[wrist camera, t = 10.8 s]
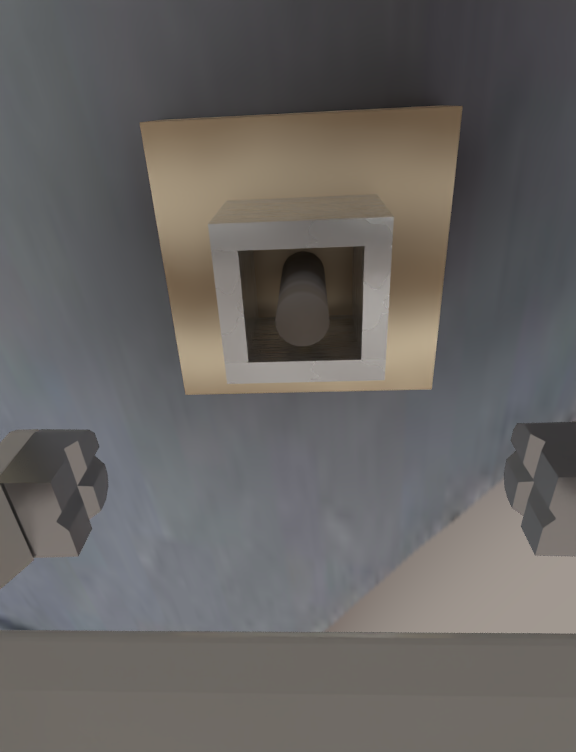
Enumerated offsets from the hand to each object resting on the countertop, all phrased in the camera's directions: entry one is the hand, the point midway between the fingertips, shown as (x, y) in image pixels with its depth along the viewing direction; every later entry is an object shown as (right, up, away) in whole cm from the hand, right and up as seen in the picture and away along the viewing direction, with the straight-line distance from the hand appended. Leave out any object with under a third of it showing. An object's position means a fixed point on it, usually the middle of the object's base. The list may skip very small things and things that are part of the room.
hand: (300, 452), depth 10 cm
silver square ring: (0, +6, +12) cm, 13 cm away
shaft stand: (0, +7, +14) cm, 16 cm away
